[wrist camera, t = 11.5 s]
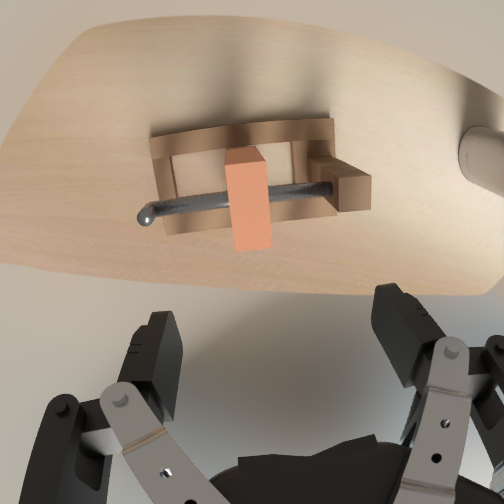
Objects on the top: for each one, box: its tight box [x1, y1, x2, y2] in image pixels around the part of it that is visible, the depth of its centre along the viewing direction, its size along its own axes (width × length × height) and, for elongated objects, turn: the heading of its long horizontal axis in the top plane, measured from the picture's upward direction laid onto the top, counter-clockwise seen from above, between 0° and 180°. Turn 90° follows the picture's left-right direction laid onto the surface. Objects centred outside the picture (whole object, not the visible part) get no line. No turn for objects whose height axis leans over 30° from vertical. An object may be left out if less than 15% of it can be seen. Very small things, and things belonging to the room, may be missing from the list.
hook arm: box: [137, 181, 333, 226], centre depth 25 cm, size 17×1×3 cm, turn 96°
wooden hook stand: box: [149, 118, 371, 235], centre depth 29 cm, size 21×12×12 cm, turn 96°
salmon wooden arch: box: [224, 146, 272, 252], centre depth 28 cm, size 7×3×10 cm, turn 6°
